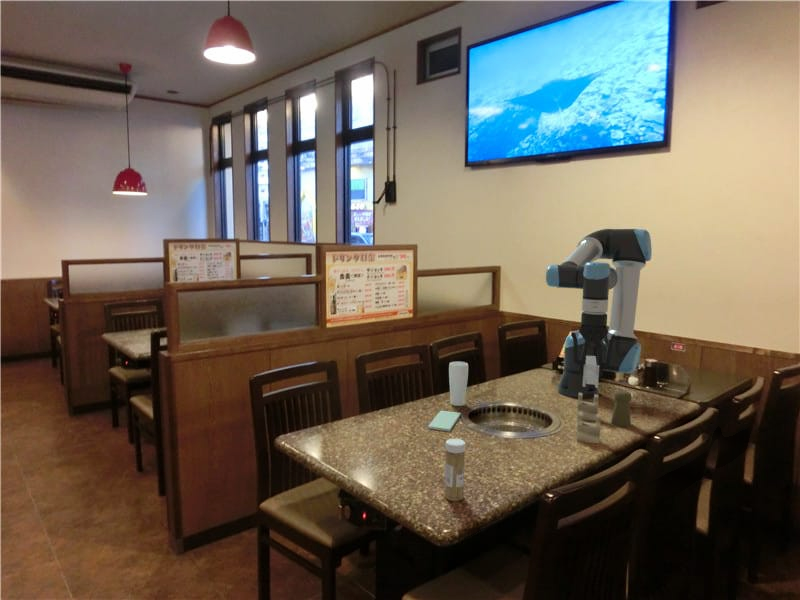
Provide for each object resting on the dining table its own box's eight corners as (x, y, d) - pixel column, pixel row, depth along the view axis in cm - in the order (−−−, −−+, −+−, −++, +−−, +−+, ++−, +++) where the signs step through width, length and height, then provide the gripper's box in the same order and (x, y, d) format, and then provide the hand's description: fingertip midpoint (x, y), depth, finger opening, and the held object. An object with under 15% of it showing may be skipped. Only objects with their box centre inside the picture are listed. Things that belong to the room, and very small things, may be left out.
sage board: (440, 412, 182) (440, 410, 182) (460, 415, 180) (460, 412, 180) (427, 428, 167) (428, 426, 167) (449, 431, 165) (449, 429, 165)
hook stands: (577, 415, 181) (578, 392, 180) (596, 417, 179) (598, 394, 178) (576, 441, 159) (578, 415, 158) (599, 443, 157) (600, 417, 156)
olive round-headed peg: (632, 428, 170) (635, 394, 169) (612, 426, 171) (615, 393, 170) (628, 421, 176) (631, 389, 175) (609, 420, 177) (611, 388, 176)
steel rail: (585, 364, 179) (586, 355, 178) (595, 365, 178) (595, 356, 177) (586, 383, 156) (586, 373, 156) (597, 384, 155) (597, 374, 155)
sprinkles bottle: (465, 501, 122) (467, 445, 120) (445, 502, 121) (447, 445, 120) (462, 492, 126) (463, 437, 124) (442, 492, 126) (444, 437, 124)
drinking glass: (462, 400, 195) (463, 360, 194) (470, 406, 189) (471, 365, 187) (445, 402, 193) (446, 362, 191) (452, 408, 187) (453, 366, 185)
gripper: (566, 312, 163) (563, 386, 166) (623, 315, 158) (618, 392, 161) (567, 309, 170) (563, 380, 173) (621, 312, 165) (617, 385, 168)
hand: (590, 385), depth 167 cm, fingers closed on steel rail, 3 cm apart
